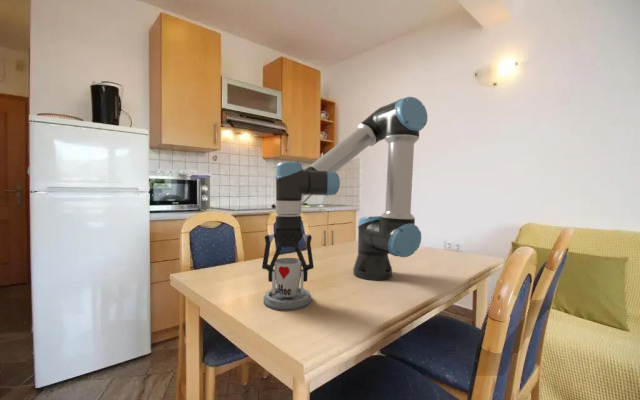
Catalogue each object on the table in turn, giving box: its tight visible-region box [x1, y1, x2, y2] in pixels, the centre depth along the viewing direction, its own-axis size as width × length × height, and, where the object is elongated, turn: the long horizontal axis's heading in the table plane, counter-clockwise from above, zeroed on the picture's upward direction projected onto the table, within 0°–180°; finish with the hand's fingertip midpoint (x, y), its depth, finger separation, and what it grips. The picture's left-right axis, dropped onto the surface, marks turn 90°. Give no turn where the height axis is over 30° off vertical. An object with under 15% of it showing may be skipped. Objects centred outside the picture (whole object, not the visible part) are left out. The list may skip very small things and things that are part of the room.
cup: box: [274, 257, 303, 297], centre depth 86 cm, size 8×8×10 cm
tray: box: [263, 286, 312, 312], centre depth 87 cm, size 14×14×2 cm
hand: (287, 292), depth 87 cm, fingers closed on cup, 8 cm apart
